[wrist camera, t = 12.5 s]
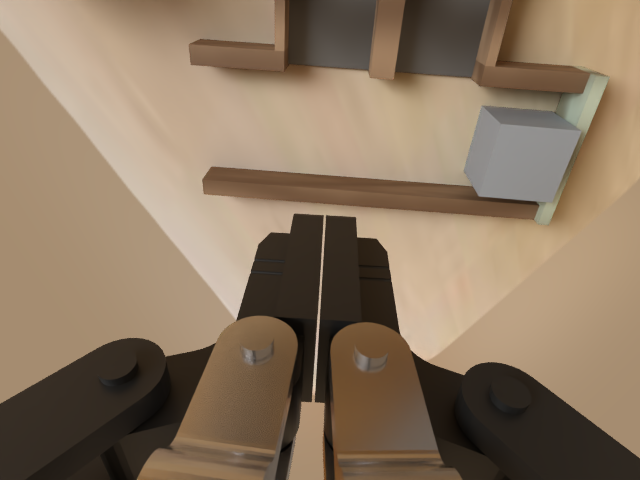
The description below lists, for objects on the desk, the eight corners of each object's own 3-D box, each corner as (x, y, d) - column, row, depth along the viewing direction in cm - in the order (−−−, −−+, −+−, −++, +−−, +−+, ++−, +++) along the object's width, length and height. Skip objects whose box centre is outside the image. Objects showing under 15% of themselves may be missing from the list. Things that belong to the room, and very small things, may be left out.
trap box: (187, -115, 24) (166, -127, 21) (640, -84, 24) (679, -92, 21) (212, 180, 34) (201, 198, 31) (532, 205, 33) (548, 225, 31)
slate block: (481, 105, 30) (501, 124, 26) (551, 111, 30) (581, 130, 26) (463, 170, 32) (478, 196, 28) (527, 176, 32) (551, 202, 28)
